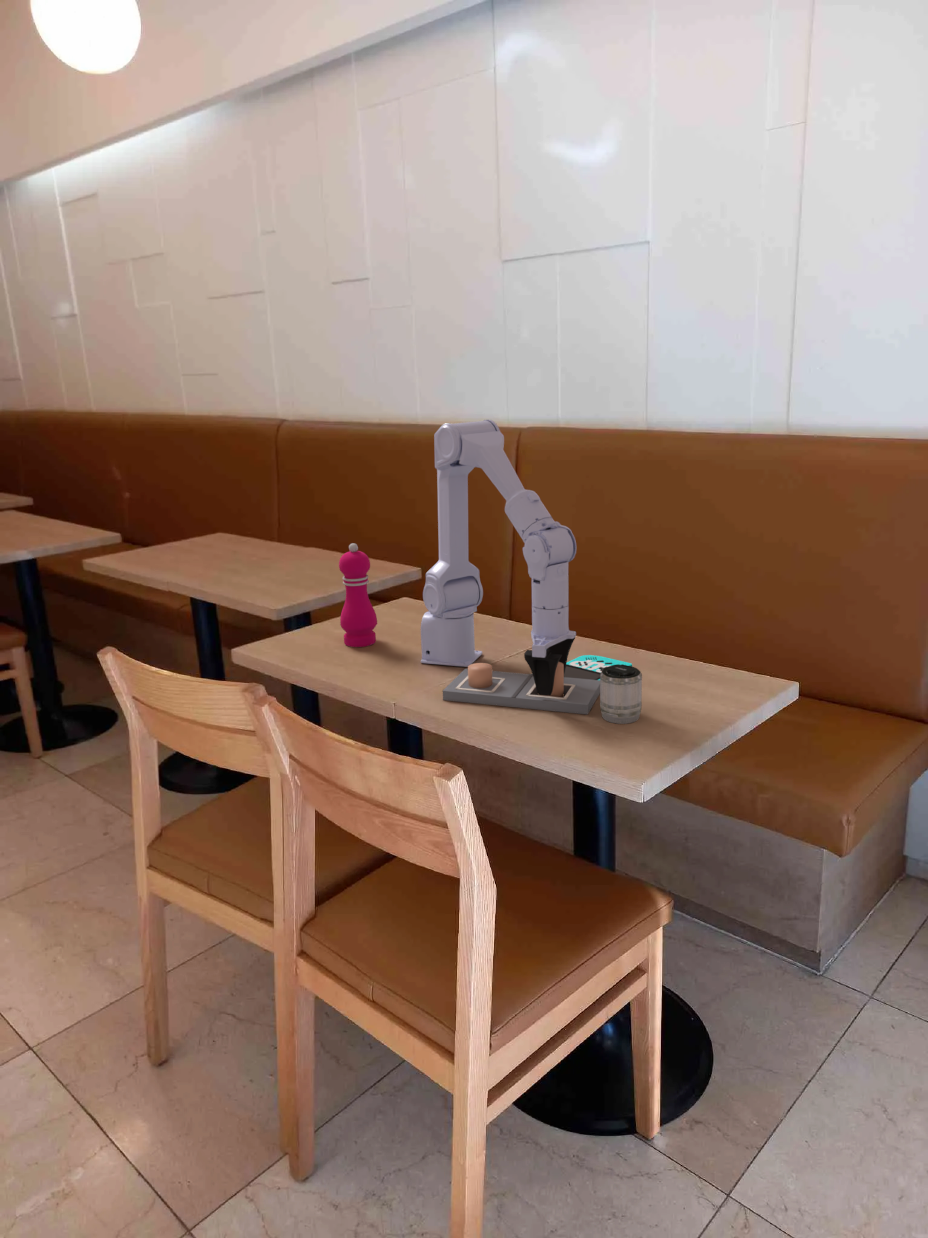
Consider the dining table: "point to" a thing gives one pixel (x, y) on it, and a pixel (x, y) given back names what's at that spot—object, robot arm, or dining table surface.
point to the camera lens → (620, 694)
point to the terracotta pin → (558, 682)
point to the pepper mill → (357, 600)
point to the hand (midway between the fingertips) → (550, 685)
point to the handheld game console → (589, 666)
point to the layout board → (519, 690)
